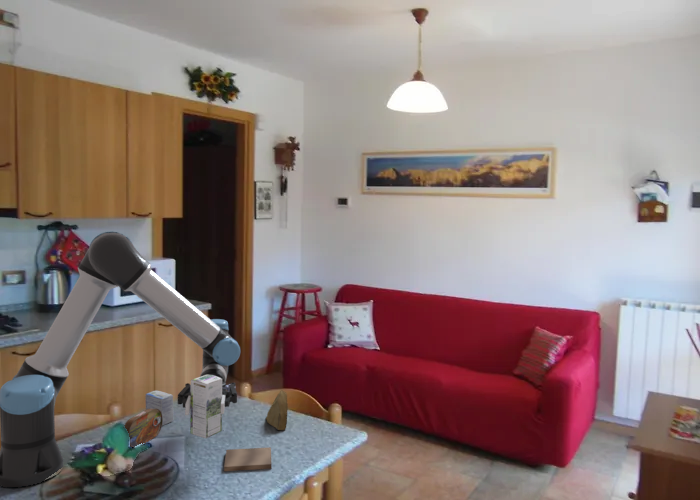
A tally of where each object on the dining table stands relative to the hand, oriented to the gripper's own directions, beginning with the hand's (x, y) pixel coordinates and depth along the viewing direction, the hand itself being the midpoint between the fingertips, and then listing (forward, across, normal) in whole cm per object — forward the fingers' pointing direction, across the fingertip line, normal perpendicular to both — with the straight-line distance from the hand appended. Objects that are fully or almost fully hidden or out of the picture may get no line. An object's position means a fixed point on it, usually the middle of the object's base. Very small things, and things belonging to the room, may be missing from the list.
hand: (204, 409), depth 138 cm
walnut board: (-7, -11, -17) cm, 21 cm away
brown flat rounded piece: (-23, +19, -18) cm, 35 cm away
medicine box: (-38, +17, -18) cm, 45 cm away
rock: (-31, -19, -17) cm, 40 cm away
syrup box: (-5, 0, -8) cm, 9 cm away
